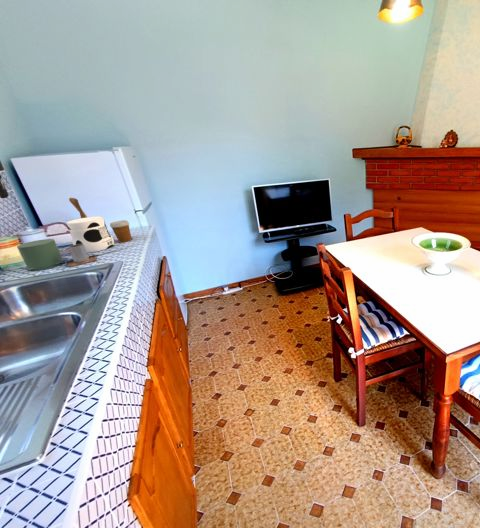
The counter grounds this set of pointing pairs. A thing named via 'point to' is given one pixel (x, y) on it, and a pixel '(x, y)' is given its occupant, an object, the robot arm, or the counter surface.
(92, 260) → the coaster
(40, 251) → the green tapered cylinder
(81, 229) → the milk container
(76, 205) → the wooden handled tool
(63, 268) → the counter surface
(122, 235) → the disposable coffee cup
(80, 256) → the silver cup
